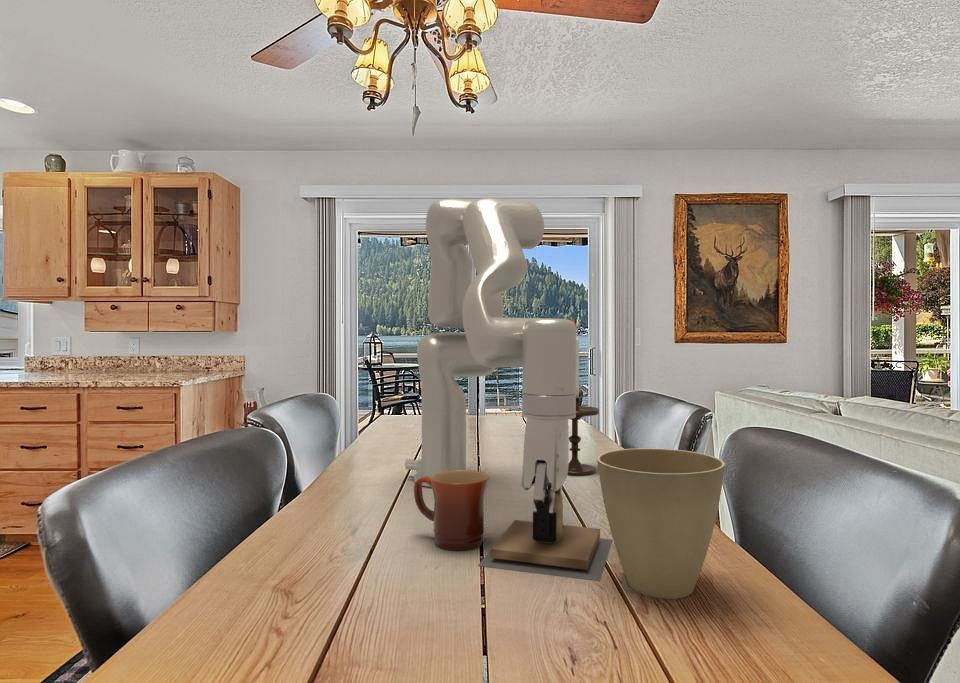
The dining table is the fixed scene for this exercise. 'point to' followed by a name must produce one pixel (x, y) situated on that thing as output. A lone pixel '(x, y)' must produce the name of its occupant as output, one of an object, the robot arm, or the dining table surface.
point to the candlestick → (574, 465)
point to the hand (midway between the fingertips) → (548, 534)
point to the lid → (548, 543)
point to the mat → (590, 574)
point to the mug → (455, 508)
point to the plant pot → (661, 515)
